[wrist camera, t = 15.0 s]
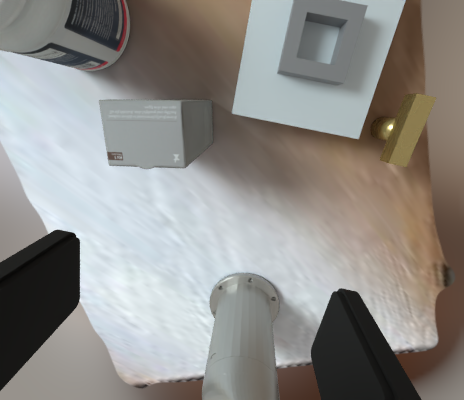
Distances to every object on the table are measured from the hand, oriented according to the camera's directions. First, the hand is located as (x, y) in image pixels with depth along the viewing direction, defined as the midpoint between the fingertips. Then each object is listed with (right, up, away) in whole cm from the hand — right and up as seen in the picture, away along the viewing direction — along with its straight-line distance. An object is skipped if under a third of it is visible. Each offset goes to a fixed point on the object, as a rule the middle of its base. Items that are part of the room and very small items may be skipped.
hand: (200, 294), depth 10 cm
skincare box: (-6, +15, +30) cm, 34 cm away
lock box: (+11, +23, +26) cm, 36 cm away
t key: (+22, +14, +28) cm, 38 cm away
